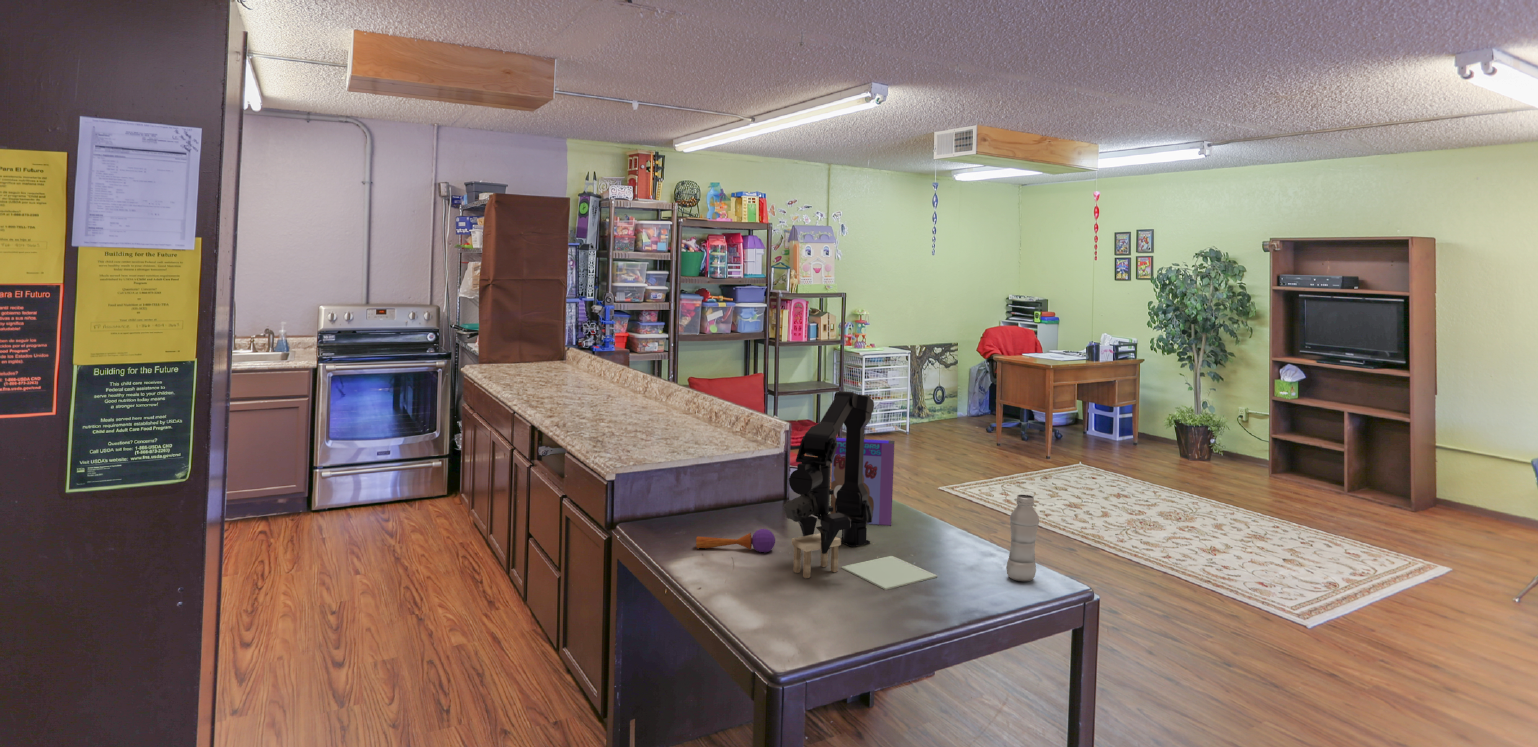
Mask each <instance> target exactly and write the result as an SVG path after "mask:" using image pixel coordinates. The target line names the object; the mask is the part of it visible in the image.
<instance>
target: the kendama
mask: <svg viewBox="0 0 1538 747" xmlns="http://www.w3.org/2000/svg"><path fill="white" fill-rule="evenodd" d="M775 544H776V538H775V534H774V533H773V532H772V531H771V530H769V529H767V528H759V529H758V530H756V531H755V532H754V533H753V534H752V533H751V532H749V533H747V534H745V535H743V536H741V537H738V538H737V539H735V538H724V537H721V538H720V537H719V538H718V537H710V536H696V540H695V546H696V549H697V548H705V549H711V548H718V547H724V546H730V545H731V546H733V545H739V546H742V547H744V548H746V549H749V550H752V548H754V549H755V551H756V552H758V551H759V552H758V553H761V552H764V553H768V552H771V551H772V550H773V549H774V547H775Z"/></svg>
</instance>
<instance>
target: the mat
mask: <svg viewBox="0 0 1538 747" xmlns="http://www.w3.org/2000/svg"><path fill="white" fill-rule="evenodd" d="M841 569H842V570H844V571H846V572H848V573H850V574H853V575H855V576H856V577H857V578H861V579H862V580H865V581H867V582H869V583H870V584H872V585H875V586H877V587H878V588H881V589H883V590H886V591H887V590H891V589H895V588H898V587H899V588H900V587H903V586H907V585H912V584H916V583H920V582H922V581H923V582H924V581H928V580H932V579H936V578H938V575H937V574H935V573H932V572H930V571H928V570H925V569H923V568H921V567H919V566H916V565H914V564H913V563H910V562H907V561H906V560H903V559H900V558H898V557H896V556H893V555H889V556H884V557H880V558H875V559H870V560H866V561H861V562H857V563H851V564H847V565H843V566H841Z"/></svg>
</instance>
